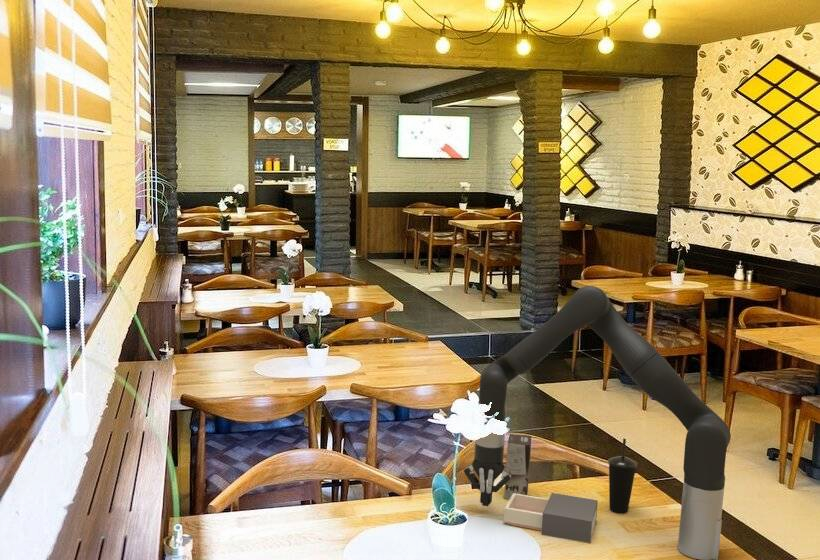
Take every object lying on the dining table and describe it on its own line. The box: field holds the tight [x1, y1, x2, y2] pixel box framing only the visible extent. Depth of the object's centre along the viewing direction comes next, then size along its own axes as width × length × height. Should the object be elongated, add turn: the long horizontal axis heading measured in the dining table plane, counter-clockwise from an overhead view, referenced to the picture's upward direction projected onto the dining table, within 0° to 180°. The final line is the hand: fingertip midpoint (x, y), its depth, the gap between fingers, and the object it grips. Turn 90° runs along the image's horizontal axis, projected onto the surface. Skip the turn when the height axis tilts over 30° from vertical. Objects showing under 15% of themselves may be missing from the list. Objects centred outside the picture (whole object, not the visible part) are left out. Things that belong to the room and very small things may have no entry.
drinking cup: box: [607, 438, 638, 515], centre depth 220 cm, size 8×8×20 cm
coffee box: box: [503, 433, 532, 500], centre depth 228 cm, size 9×6×16 cm
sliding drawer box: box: [503, 493, 598, 538], centre depth 210 cm, size 22×11×4 cm, turn 71°
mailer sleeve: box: [540, 492, 599, 544], centre depth 208 cm, size 12×14×6 cm
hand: (485, 504), depth 215 cm, fingers closed
